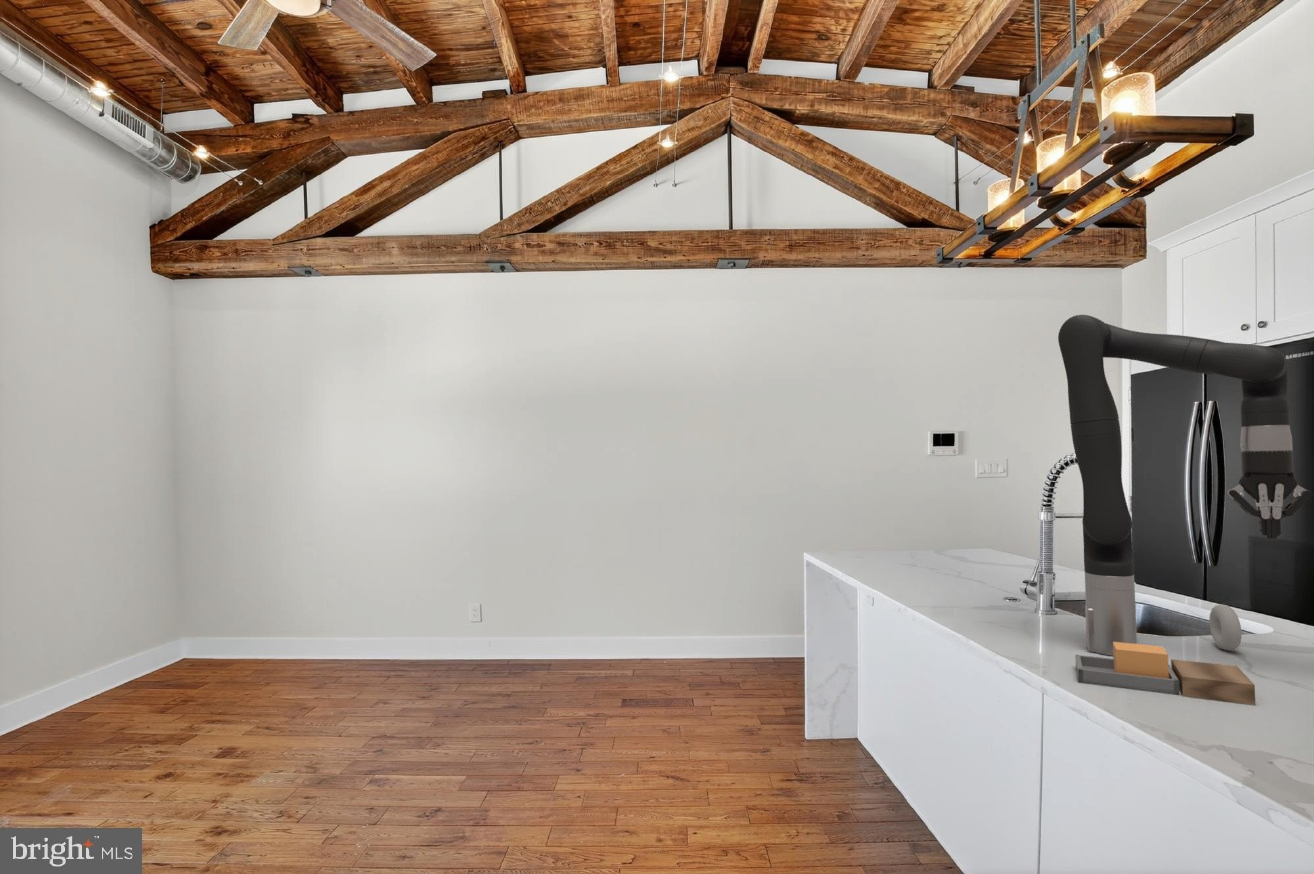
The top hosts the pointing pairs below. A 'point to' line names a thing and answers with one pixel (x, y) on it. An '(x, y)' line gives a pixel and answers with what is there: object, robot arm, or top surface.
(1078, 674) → the tray
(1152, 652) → the orange block
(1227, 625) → the donut
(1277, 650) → the top surface
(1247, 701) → the walnut board
